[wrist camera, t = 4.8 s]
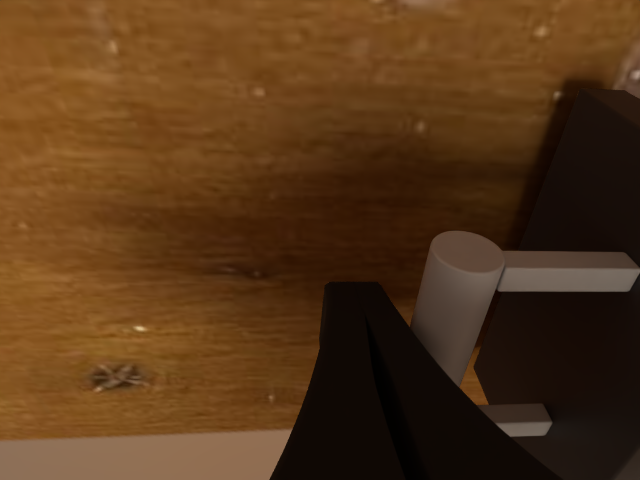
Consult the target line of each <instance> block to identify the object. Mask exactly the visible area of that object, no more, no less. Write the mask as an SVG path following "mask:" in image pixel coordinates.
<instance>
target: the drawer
mask: <svg viewBox="0 0 640 480" xmlns="http://www.w3.org/2000/svg"><path fill="white" fill-rule="evenodd" d="M495 289H497V290H498V291H502V294H501V296H500V299H499V302H498V304H497V307H496V309H495V312H494V315H493V317H492V320H491V322H490V325H489V328H488V330H487V333H486V336H485V338H484V341H483V343H482V346H481V349H480V351H479V354H478V357H477V359H476V362H475V364H474V370H475V372H476V375H477V377H478V379H479V382H480V384H481V387H482V389H483V391H484V394H485V396H486V398H487V401H488V403H489V405H477V406H478V407H479V408H480V409H481V410H482V411H483V412H484V413H485V414H486V415H487V416H488V417H489V418H490V419H491V420H492V421H493V422H494V423H495V424H496V425H497V426H498V427H500V428H501V429H502V430H503V431H504V432H505V433H506V434H508V435H509V436H510V437H511V438H512V439H514V440H515V441H516V442H517V443H518V444H519V445H521V446H522V447H523V448H524V449H525V450H527V451H528V452H529V453H530V454H531V455H532V456H534V457H535V458H536V459H537V460H538V461H540V462H541V463H542V464H543V465H545V466H546V467H547V468H549V469H550V470H551V471H553V472H554V473H555V474H557V475H558V476H559V477H561V478H562V479H563V480H640V99H639V98H637V97H635V96H633V95H632V94H630V93H628V92H627V91H624V90H604V89H580V90H579V92H578V95H577V97H576V100H575V102H574V105H573V108H572V110H571V113H570V116H569V118H568V121H567V123H566V126H565V129H564V131H563V134H562V137H561V139H560V142H559V144H558V147H557V150H556V152H555V155H554V157H553V160H552V163H551V165H550V168H549V171H548V173H547V176H546V178H545V181H544V184H543V186H542V189H541V192H540V194H539V197H538V199H537V202H536V205H535V207H534V210H533V212H532V215H531V218H530V220H529V223H528V226H527V228H526V231H525V233H524V236H523V239H522V241H521V244H520V247H519V249H518V251H502V250H501V249H500V248H499V247H498V246H497V245H496V244H495V243H493V242H492V241H491V240H489V239H487V238H485V237H483V236H481V235H478V234H475V233H471V232H466V231H447V232H443V233H441V234H439V235H437V236H436V237H435V238H434V239H433V240H432V242H431V245H430V249H429V253H428V257H427V261H426V265H425V269H424V273H423V277H422V281H421V285H420V289H419V293H418V297H417V301H416V305H415V309H414V313H413V317H412V321H411V325H410V329H411V330H412V331H413V333H414V334H415V335H416V337H417V338H418V339H419V341H420V342H421V343H422V344H423V346H424V347H425V348H426V350H427V351H428V352H429V353H430V355H431V356H432V357H433V358H434V359H435V361H436V362H437V363H438V364H439V365H440V367H441V368H442V369H443V370H444V371H445V372H446V373H447V375H448V376H449V377H450V378H451V379H452V380H453V381H454V383H455V384H456V385H457V386H458V387H460V384H461V381H462V379H463V376H464V373H465V370H466V368H467V365H468V362H469V360H470V357H471V354H472V351H473V349H474V346H475V343H476V341H477V338H478V335H479V333H480V330H481V327H482V324H483V322H484V319H485V316H486V314H487V311H488V308H489V306H490V303H491V300H492V297H493V295H494V292H495Z"/></svg>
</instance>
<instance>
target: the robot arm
mask: <svg viewBox="0 0 640 480" xmlns="http://www.w3.org/2000/svg"><path fill="white" fill-rule="evenodd" d="M319 342H320V349H319V353H318V357H317V360H316V364H315V367H314V371H313V374H312V378H311V381H310V384H309V387H308V390H307V393H306V396H305V399H304V401H303V404H302V407H301V410H300V412H299V415H298V417H297V420H296V422H295V425H294V427H293V430H292V432H291V434H290V437H289V439H288V442H287V444H286V446H285V449H284V451H283V453H282V455H281V457H280V459H279V461H278V463H277V465H276V468H275V469H274V472H273V473H272V476H271V477H270V480H563V479H562V478H561V477H559V476H558V475H557V474H555V473H554V472H553V471H551V470H550V469H549V468H547V467H546V466H545V465H543V464H542V463H541V462H540V461H538V460H537V459H536V458H535V457H534V456H532V455H531V454H530V453H529V452H528V451H527V450H525V449H524V448H523V447H522V446H521V445H519V444H518V443H517V442H516V441H515V440H514V439H512V438H511V437H510V436H509V435H508V434H506V433H505V432H504V431H503V430H502V429H501V428H500V427H498V426H497V425H496V424H495V423H494V422H493V421H492V420H491V419H490V418H489V417H488V416H487V415H486V414H485V413H484V412H483V411H482V410H481V409H480V408H479V407H478V406H477V405H476V404H475V403H474V402H473V401H472V400H471V399H470V398H469V397H468V396H467V395H466V394H465V393H464V392H463V391H462V390H461V389H460V388H459V387H458V386H457V385H456V384H455V383H454V381H453V380H452V379H451V378H450V377H449V376H448V375H447V373H446V372H445V371H444V370H443V369H442V368H441V367H440V365H439V364H438V363H437V362H436V361H435V359H434V358H433V357H432V356H431V355H430V353H429V352H428V351H427V350H426V348H425V347H424V346H423V344H422V343H421V342H420V341H419V339H418V338H417V337H416V335H415V334H414V333H413V331H412V330H411V329H410V327H409V326H408V325H407V323H406V322H405V320H404V319H403V318H402V316H401V315H400V313H399V312H398V310H397V309H396V308H395V306H394V305H393V303H392V302H391V300H390V299H389V297H388V296H387V294H386V292H385V291H384V289H383V288H382V286H381V285H380V284H379V283H378V282H329V283H327V284H326V285H325V287H324V297H323V307H322V317H321V327H320V337H319Z"/></svg>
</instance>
